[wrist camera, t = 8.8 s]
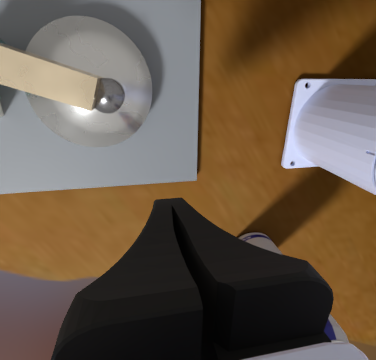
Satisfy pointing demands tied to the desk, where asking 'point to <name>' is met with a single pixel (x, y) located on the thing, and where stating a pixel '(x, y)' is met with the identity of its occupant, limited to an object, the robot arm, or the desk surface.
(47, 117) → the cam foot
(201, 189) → the desk surface
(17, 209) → the desk surface
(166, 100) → the stand board
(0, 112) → the white rectangular box
